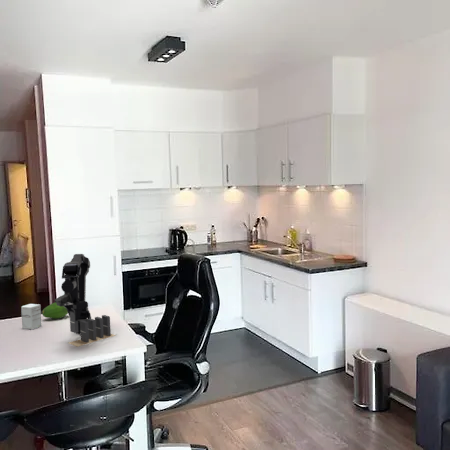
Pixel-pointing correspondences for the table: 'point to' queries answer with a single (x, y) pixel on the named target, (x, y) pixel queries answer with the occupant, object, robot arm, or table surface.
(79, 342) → the board
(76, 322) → the domino
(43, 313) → the fruit
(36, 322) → the supplement box
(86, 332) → the domino
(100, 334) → the domino
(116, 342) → the table surface
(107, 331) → the domino
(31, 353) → the table surface
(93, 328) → the domino
